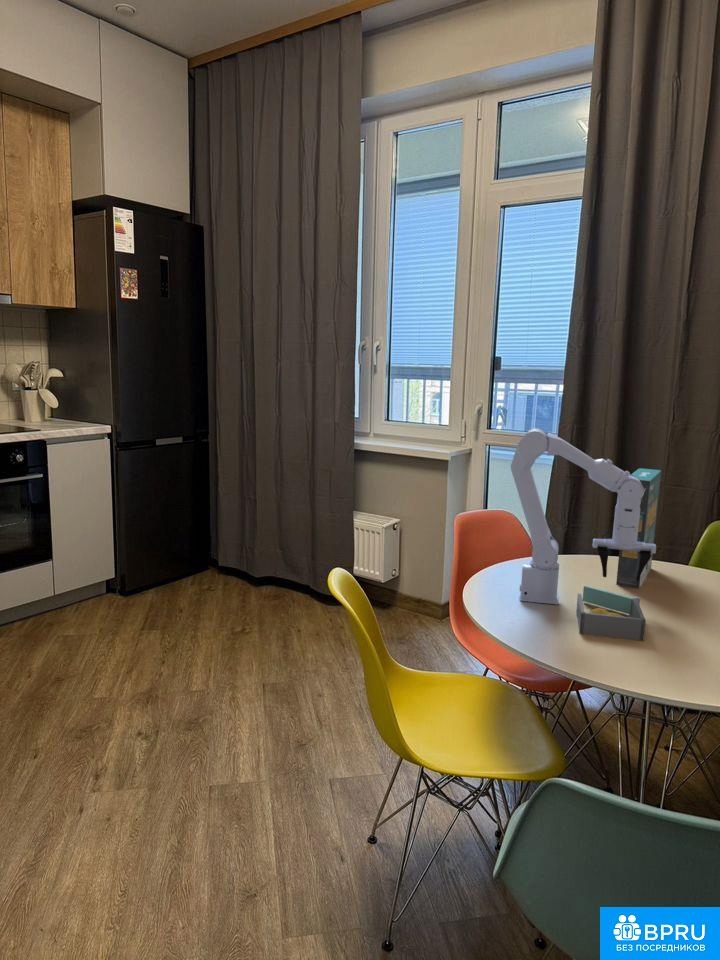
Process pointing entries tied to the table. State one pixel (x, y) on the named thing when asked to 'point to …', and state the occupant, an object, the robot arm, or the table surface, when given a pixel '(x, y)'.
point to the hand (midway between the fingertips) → (620, 577)
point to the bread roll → (603, 612)
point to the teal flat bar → (609, 599)
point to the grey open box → (611, 623)
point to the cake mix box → (641, 529)
